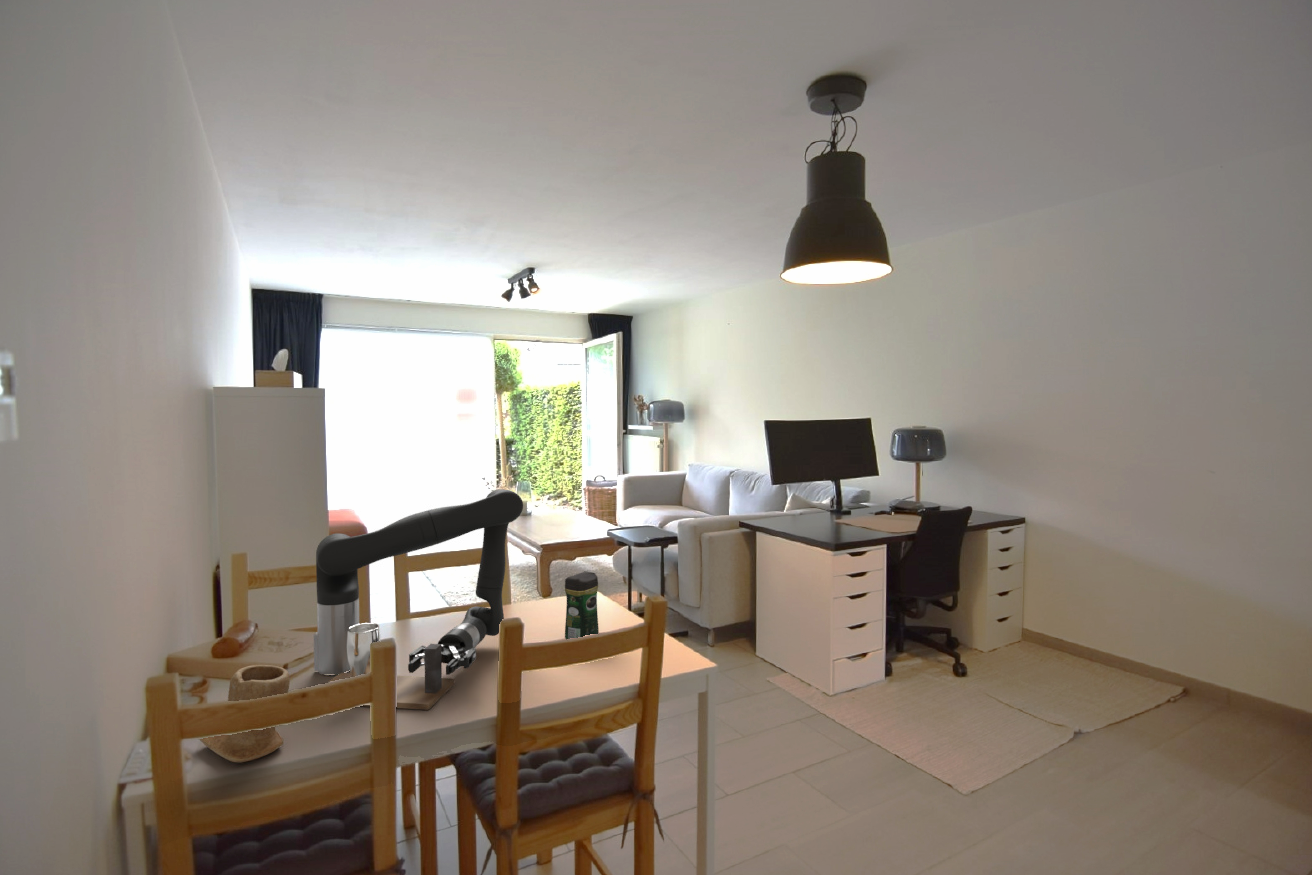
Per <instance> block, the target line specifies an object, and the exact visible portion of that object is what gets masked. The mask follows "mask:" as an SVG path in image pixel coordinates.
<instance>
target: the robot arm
mask: <svg viewBox="0 0 1312 875" xmlns="http://www.w3.org/2000/svg"><path fill="white" fill-rule="evenodd" d="M523 509H524V502H523V500H522V498H521V496H520V495H519V494H518V493H516V492H515V491H513V490H510V489H504V488H503V489H502V488H498V489H494V490H492V491H490V492H489V493H488V494H487V496H486V497H485V498H482V499H480V500H476V501H474V502H471V503H465V504H459V505H451V506H450V505H449V506H448V505H447V506H442V507H437V508H433V509H428V510H424V511H419V512H417V513H413V514H409V515H408V516H405V517H403V518H401V519H398V520H397V521H394V522H391V523H390V524H388V525H386V526H384V527H383V528H380V529H377V530H375V531H372V532H368V533H365V534H358V535H355V536H349V535H348V534H345V533H339V532H338V533H332V534H329V535H328V536H326V537H324V538H323V539H322V540H321V541H320V542H318V543H319V544H318V545H317V548H316V551H315V553H316V554H315V566H316V567H315V568H316V570H315V571H316V574H315V575H316V576H315V577H316V603H317V604H316V605H317V606H316V610H317V612H316V613H317V619H316V620H317V631H316V632H314V634H313V672H314V671H318V672H319V673H318V672H317V673H318V674H320V673H321V674H320V675H322V674H340V673H344V672H346V671H349V670H350V668H349V663H348V658H347V633H348V628H350V627H351V626H354V625H357V624H360V587H359V575H358V574H359V572H358V571H359V570H360V569H361V568H364V567H366V566H368V565H371V564H373V563H376V562H378V561H382V560H384V559H389V558H392V557H396V556H400V555H404V554H408V553H411V552H414V551H419V550H422V549H425V548H429V547H432V546H435V545H438V544H441V543H445V542H446V541H450V540H452V539H456V538H458V537H461V536H464V535H465V534H468V533H471V532H474V531H476V530H477V531H478V530H481V529H483V539H482V548H481V549H482V550H481V556H480V562H479V568H478V573H477V574H478V575H477V581H476V587H475V596H476V597H477V598H479V599H481V600H484V601H485V602H487V603H488V604H489V607H483V606H477V605H475V606H472V607H469V608H468V609H467V611H466V612H465V615H464V618H463V620H462V622H460V623H459V624H458V625H456V626H454V627H453V628H451V629H450V630H449V631H448V632H447V633H445V634H444V635H443V636H442V637H440V638H439V640H438V642H437V644H441V653H442V664H446V665H445V675H446V676H449V675H451V674H452V673H455V671H457V670H459V669H461V668H462V667H463V668H464V669H468V668H470V667H471V666H472V665H473V663H474V662H475V661H476V660H477V647H478V645H480V643H481V642H482V641H484V639H485V637H486V636H491V637H495V636H497V635H499V634H500V633H499V624H500V622H501V621H502V619H504V620H505V616H504V615H505V614H504V608H503V587H504V582H505V581H504V580H505V574H506V538H507V537H506V536H507V532H508V527H509V524H510V523H513V522H514V521H516V520H517V519H518V518H519V517H520V516H521V515H522V513H523ZM358 569H359V570H358ZM426 647H427V646H426V645H420V646H419V647H418V648H416V649H414V650H413V651H411V652H410V653H409V654H408V661H409V662H408V663H407V668H408V669H407V671H408V673H409V674H413V673H415V672H416V671H417V670H418V669H419V668H420V667H422V666H425V648H426ZM422 660H423V661H422Z"/></svg>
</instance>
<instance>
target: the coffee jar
mask: <svg viewBox="0 0 1312 875" xmlns="http://www.w3.org/2000/svg"><path fill="white" fill-rule="evenodd" d="M564 579H565V580H564V592H565V594H566V595H565V596H566V610H565V624H564V626H565V627H564V639H565V640H567V639H570V638H578V637H583V636H585V635H590V634H598V633H599V618H598V600H597V599H598V589H599V579H598V576H597V574H596V573H595V572H591V571H586V570H585V571H583V572H580V573H577V574H574V575H571V576H568V577H566V578H564ZM599 634H600V633H599ZM599 634H598V635H599Z"/></svg>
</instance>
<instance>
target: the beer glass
mask: <svg viewBox="0 0 1312 875" xmlns="http://www.w3.org/2000/svg"><path fill="white" fill-rule="evenodd" d="M377 641H380V642H381V630H380V624H378V623H374V622H363V623H359V624H357V625H354V626H351V627H350V628H348V633H347V658H348V663H349V668H350V672H349V673H351V677H355V676H358V675H361V674H367V673H369V672H370V644H371V643H373V642H377Z"/></svg>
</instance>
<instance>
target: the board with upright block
mask: <svg viewBox="0 0 1312 875" xmlns="http://www.w3.org/2000/svg"><path fill="white" fill-rule="evenodd" d="M442 664H443V663H442V653H441V644H438V643H429V644H428V645H427V646H426V648H425V665H424V676H415V675H414V676H412V675H411V676H410V675H396V676H397V708H396V709H412V710H426V711H427V710H430V709H431V708H432V707H433V706H434V705H435V704H436V703H437V702H438V701H439V700H440V698H442V697H443V696H444V695H445V694H446V693H447V691H449V690H450V688H451V687H453V686H454V684H455V678H451V677H450V678H449V677H448V678H447V677H443V676H442V673H443V672H442V669H443V668H442V667H443V666H442ZM350 677H351V673H350V672H348V673H340V674H339V675H335V677H333V678H331V679H330V680H328V681H327V682H330V681H335V680H339V679H345V678H350ZM364 707H371V706H370V705H365V706H364Z"/></svg>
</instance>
